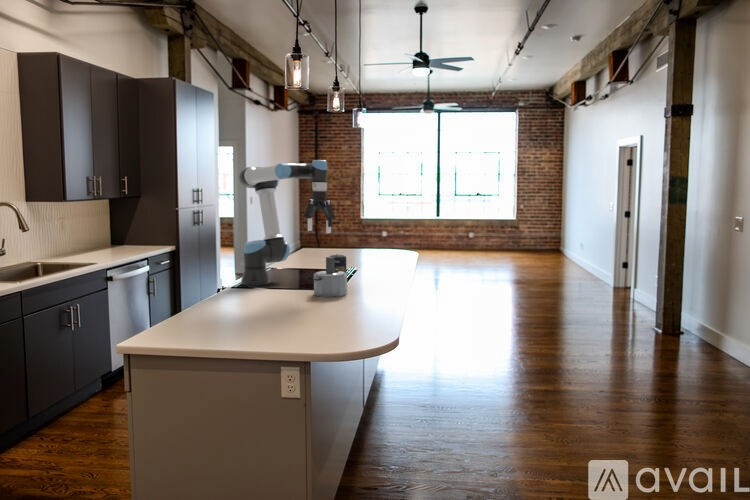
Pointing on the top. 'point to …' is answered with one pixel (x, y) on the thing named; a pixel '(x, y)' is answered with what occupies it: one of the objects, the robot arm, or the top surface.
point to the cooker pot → (330, 286)
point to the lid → (330, 269)
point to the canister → (340, 262)
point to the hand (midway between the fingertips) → (319, 232)
